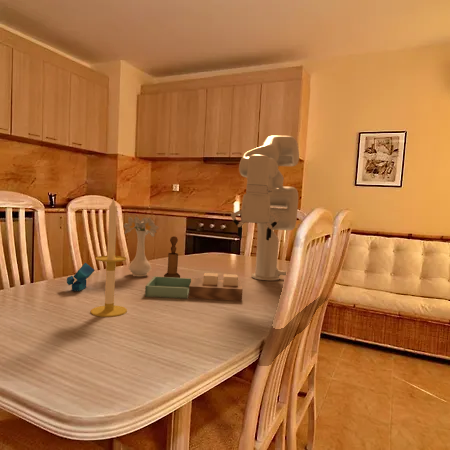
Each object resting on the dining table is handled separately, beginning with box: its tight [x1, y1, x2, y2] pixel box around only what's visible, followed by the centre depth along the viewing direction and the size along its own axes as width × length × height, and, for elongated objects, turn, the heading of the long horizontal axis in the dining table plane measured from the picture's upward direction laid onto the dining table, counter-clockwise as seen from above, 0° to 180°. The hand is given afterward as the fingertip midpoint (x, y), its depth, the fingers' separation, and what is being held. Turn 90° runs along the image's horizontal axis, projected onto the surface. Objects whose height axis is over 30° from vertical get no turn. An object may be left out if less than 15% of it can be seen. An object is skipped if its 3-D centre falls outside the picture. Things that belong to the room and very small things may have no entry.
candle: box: [90, 197, 128, 318], centre depth 103 cm, size 10×10×32 cm
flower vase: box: [123, 216, 160, 278], centre depth 155 cm, size 13×18×25 cm
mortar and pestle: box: [163, 236, 181, 278], centre depth 148 cm, size 7×6×18 cm
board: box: [188, 277, 244, 302], centre depth 131 cm, size 18×14×4 cm
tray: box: [144, 276, 192, 299], centre depth 130 cm, size 14×16×4 cm
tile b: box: [203, 272, 219, 285], centre depth 130 cm, size 5×5×3 cm
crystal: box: [66, 262, 95, 292], centre depth 127 cm, size 7×9×12 cm
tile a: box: [222, 273, 239, 286], centre depth 130 cm, size 5×5×3 cm
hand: (253, 239), depth 130 cm, fingers open, 9 cm apart
